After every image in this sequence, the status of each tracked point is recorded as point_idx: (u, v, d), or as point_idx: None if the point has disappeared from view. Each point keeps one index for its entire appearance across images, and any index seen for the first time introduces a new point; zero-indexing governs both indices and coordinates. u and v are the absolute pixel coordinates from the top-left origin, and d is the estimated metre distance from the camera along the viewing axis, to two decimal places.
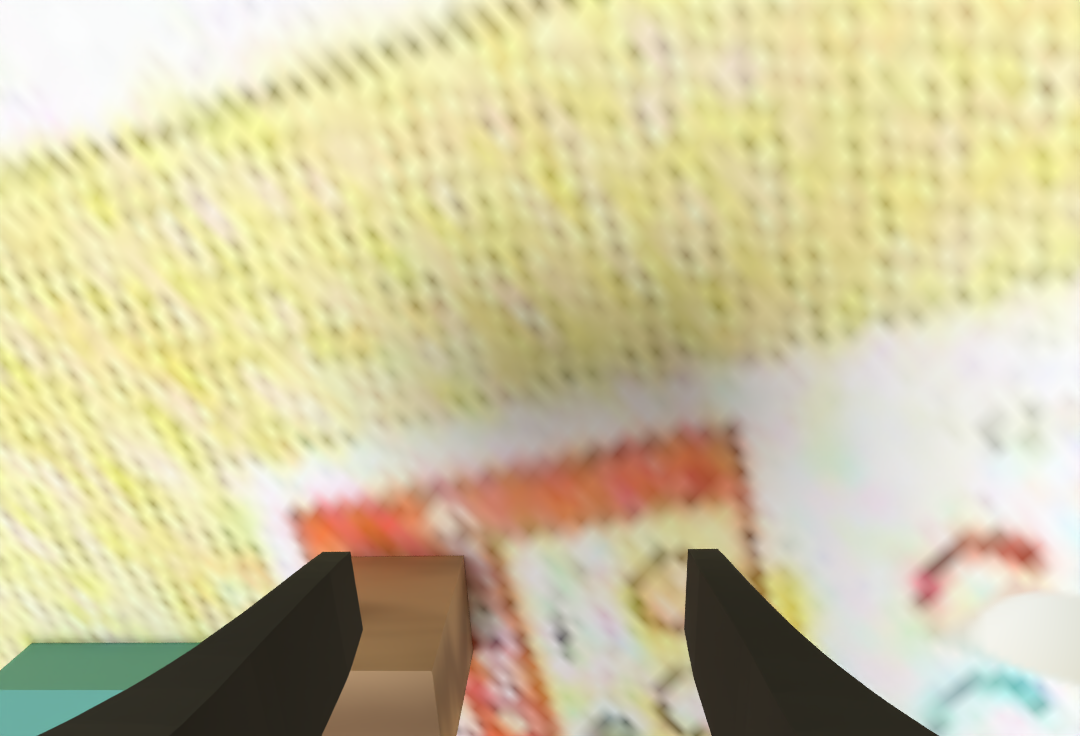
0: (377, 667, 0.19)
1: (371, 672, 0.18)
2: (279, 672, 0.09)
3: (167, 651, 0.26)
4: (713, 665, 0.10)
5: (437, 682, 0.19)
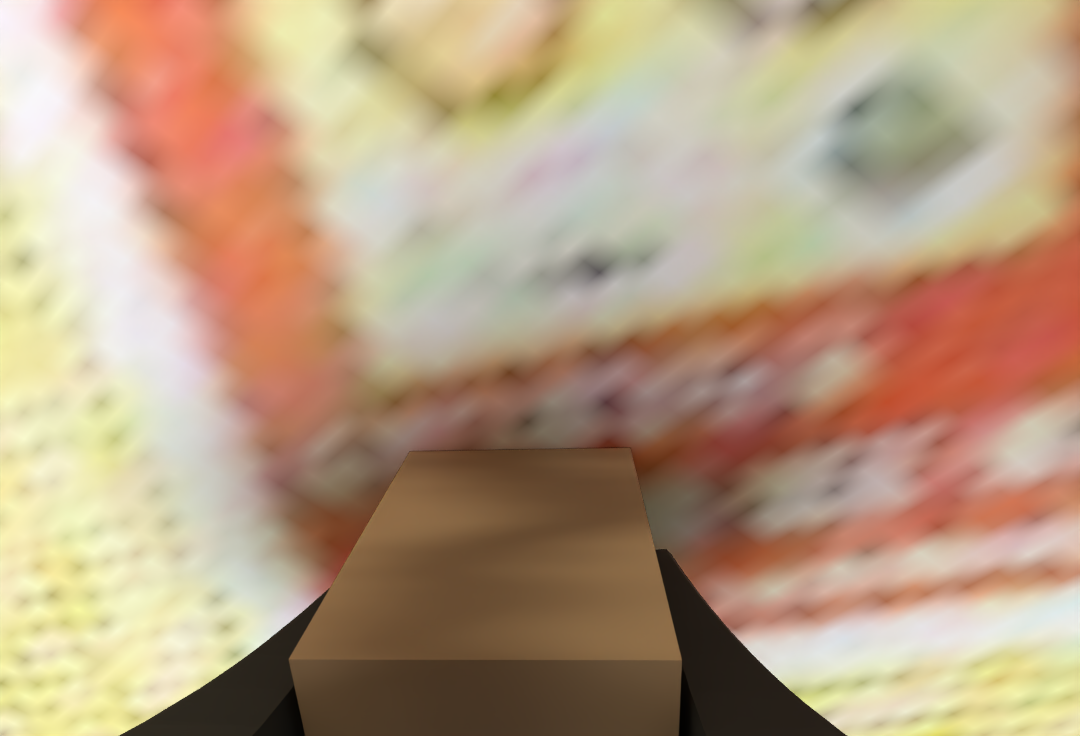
0: None
1: None
2: None
3: None
4: None
5: (368, 635, 0.08)
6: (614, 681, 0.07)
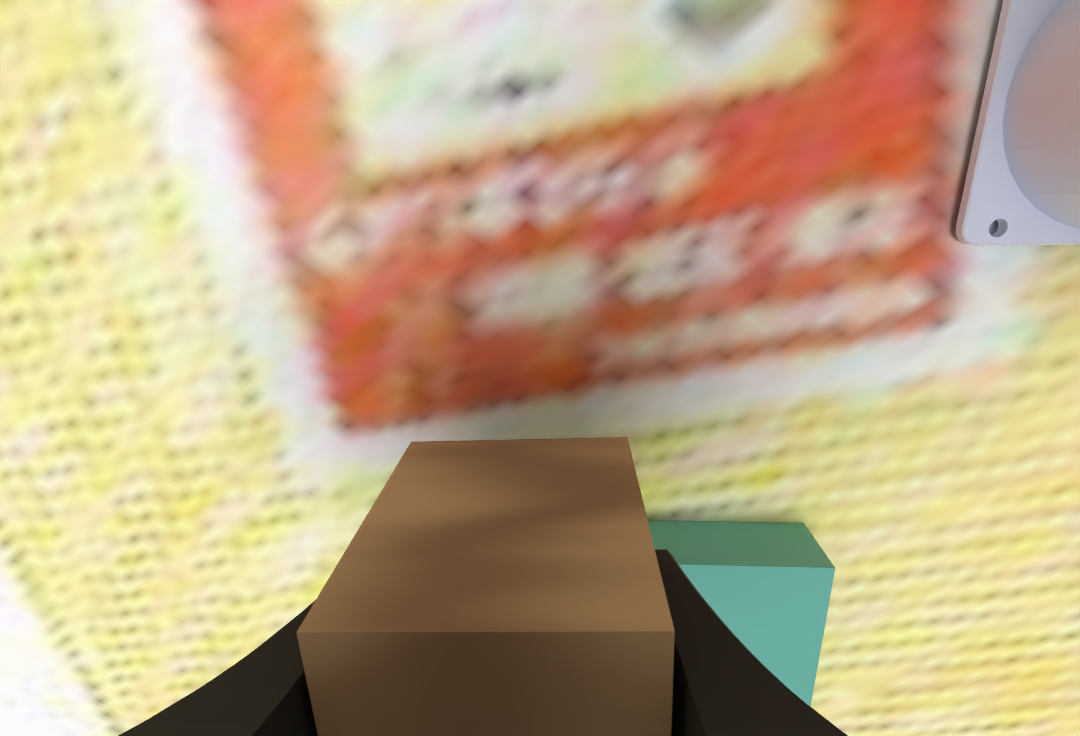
0: (321, 726, 0.08)
1: None
2: None
3: None
4: None
5: (373, 610, 0.08)
6: (609, 652, 0.08)
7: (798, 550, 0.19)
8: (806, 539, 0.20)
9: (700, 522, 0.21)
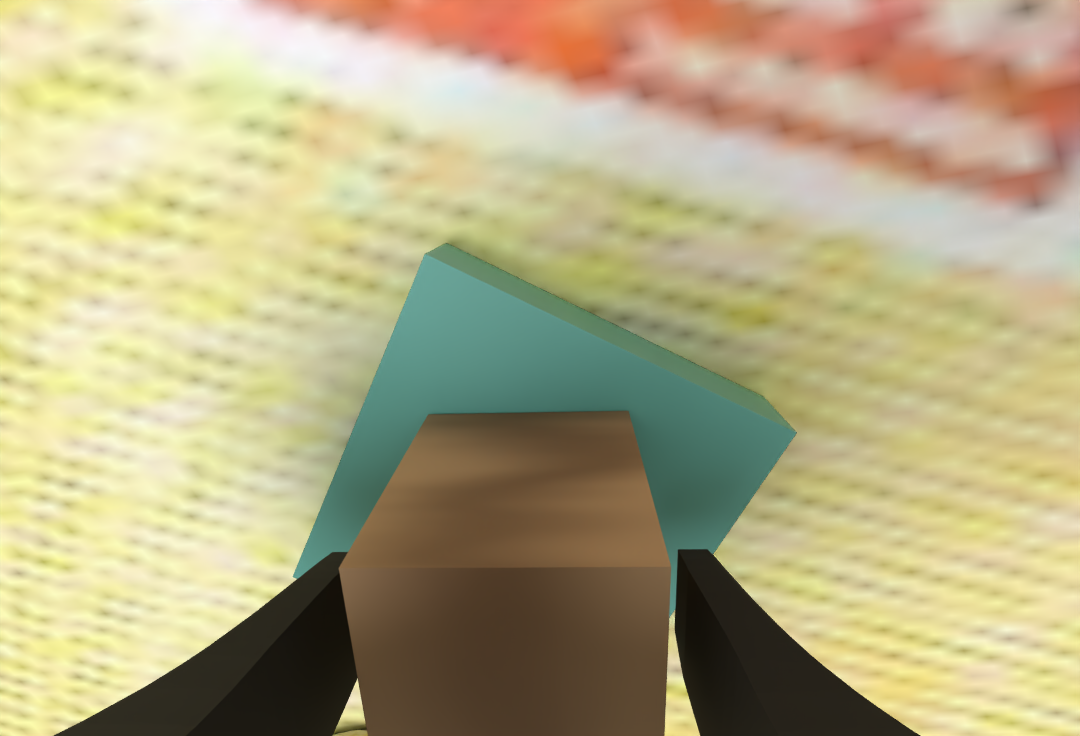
0: (358, 655, 0.09)
1: (360, 669, 0.09)
2: (291, 672, 0.09)
3: None
4: (701, 665, 0.10)
5: (405, 550, 0.09)
6: (613, 585, 0.09)
7: (756, 405, 0.15)
8: (765, 404, 0.16)
9: (648, 341, 0.16)
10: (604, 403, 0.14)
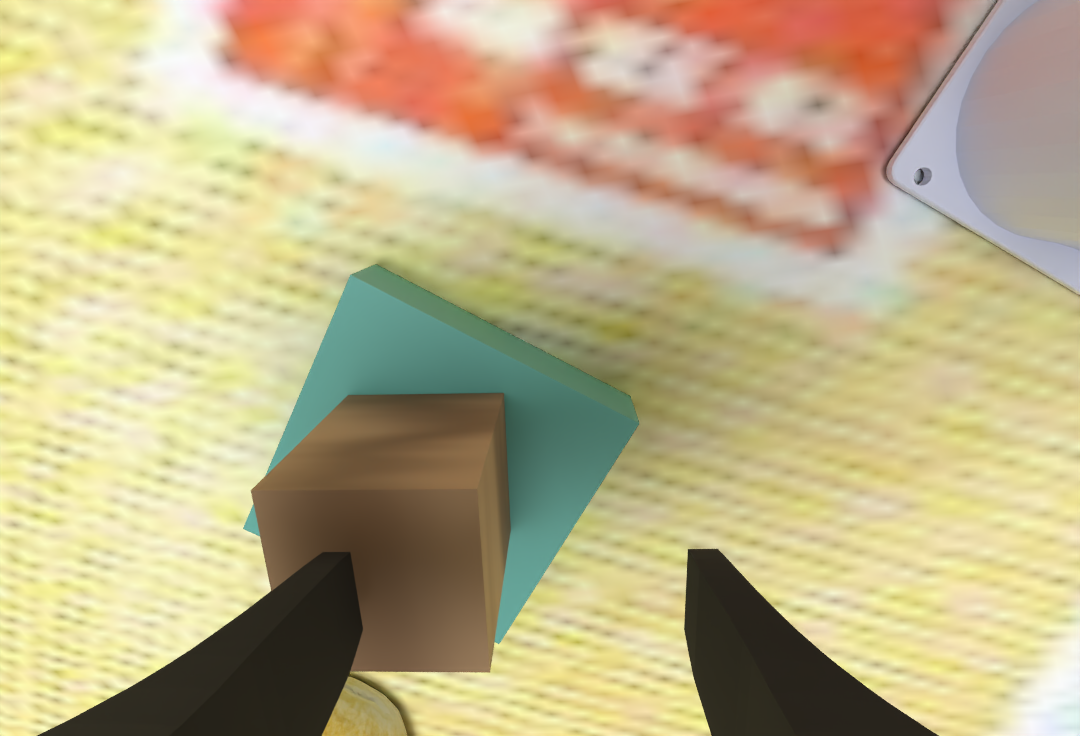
0: (268, 556, 0.13)
1: (269, 566, 0.13)
2: (279, 672, 0.09)
3: None
4: (713, 665, 0.10)
5: (299, 480, 0.13)
6: (439, 503, 0.13)
7: (614, 401, 0.19)
8: (625, 401, 0.20)
9: None
10: None
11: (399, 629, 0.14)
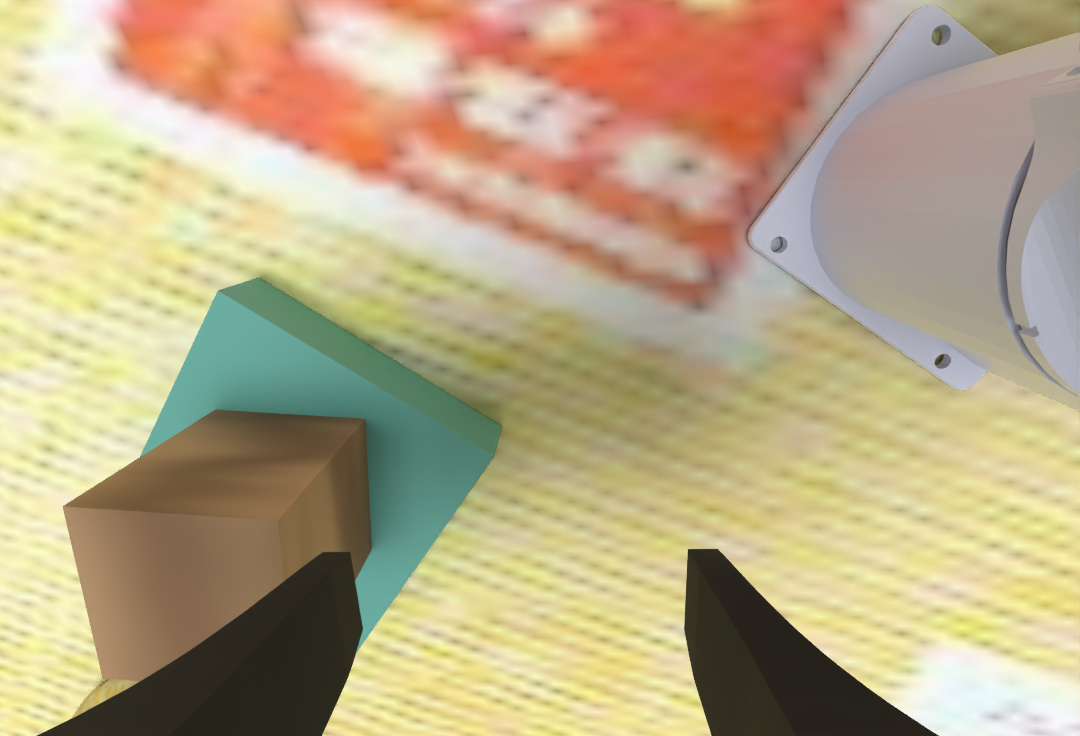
0: (82, 568, 0.14)
1: (82, 578, 0.14)
2: (279, 672, 0.09)
3: None
4: (713, 665, 0.10)
5: (115, 499, 0.14)
6: (243, 531, 0.13)
7: (477, 432, 0.20)
8: (491, 432, 0.20)
9: None
10: (351, 417, 0.19)
11: None
